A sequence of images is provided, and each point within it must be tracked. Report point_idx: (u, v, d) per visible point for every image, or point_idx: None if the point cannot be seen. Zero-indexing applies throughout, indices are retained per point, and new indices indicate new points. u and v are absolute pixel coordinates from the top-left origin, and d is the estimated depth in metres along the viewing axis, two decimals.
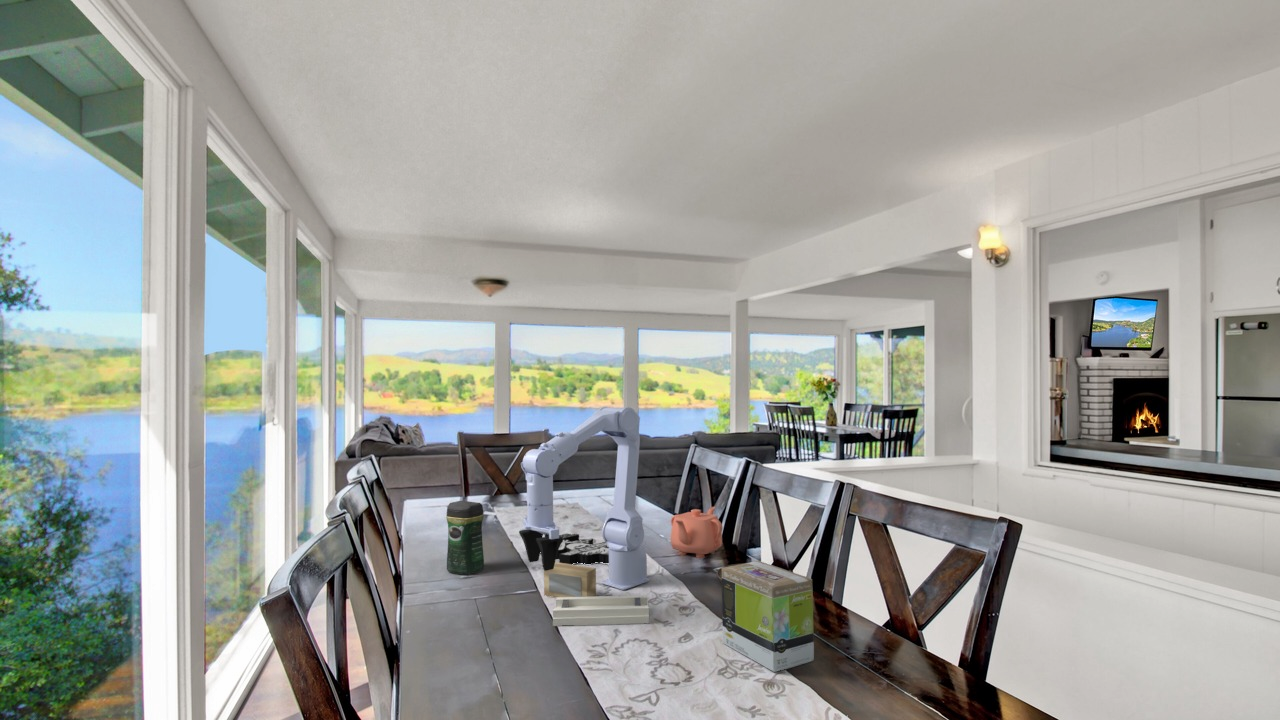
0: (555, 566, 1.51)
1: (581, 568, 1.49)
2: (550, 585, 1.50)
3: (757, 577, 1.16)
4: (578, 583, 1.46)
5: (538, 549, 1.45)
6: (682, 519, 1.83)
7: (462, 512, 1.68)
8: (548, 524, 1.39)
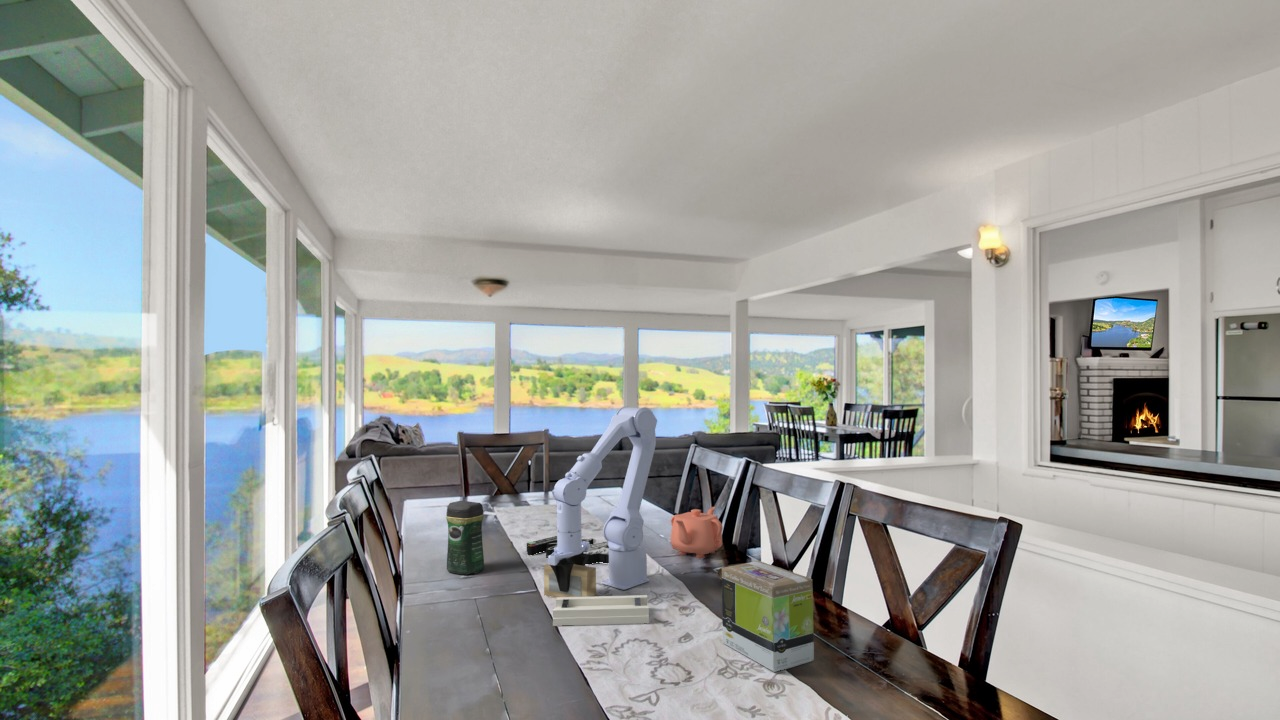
0: None
1: (581, 568, 1.49)
2: (550, 585, 1.50)
3: (757, 577, 1.16)
4: (578, 582, 1.46)
5: None
6: (682, 519, 1.83)
7: (462, 512, 1.68)
8: (564, 551, 1.48)
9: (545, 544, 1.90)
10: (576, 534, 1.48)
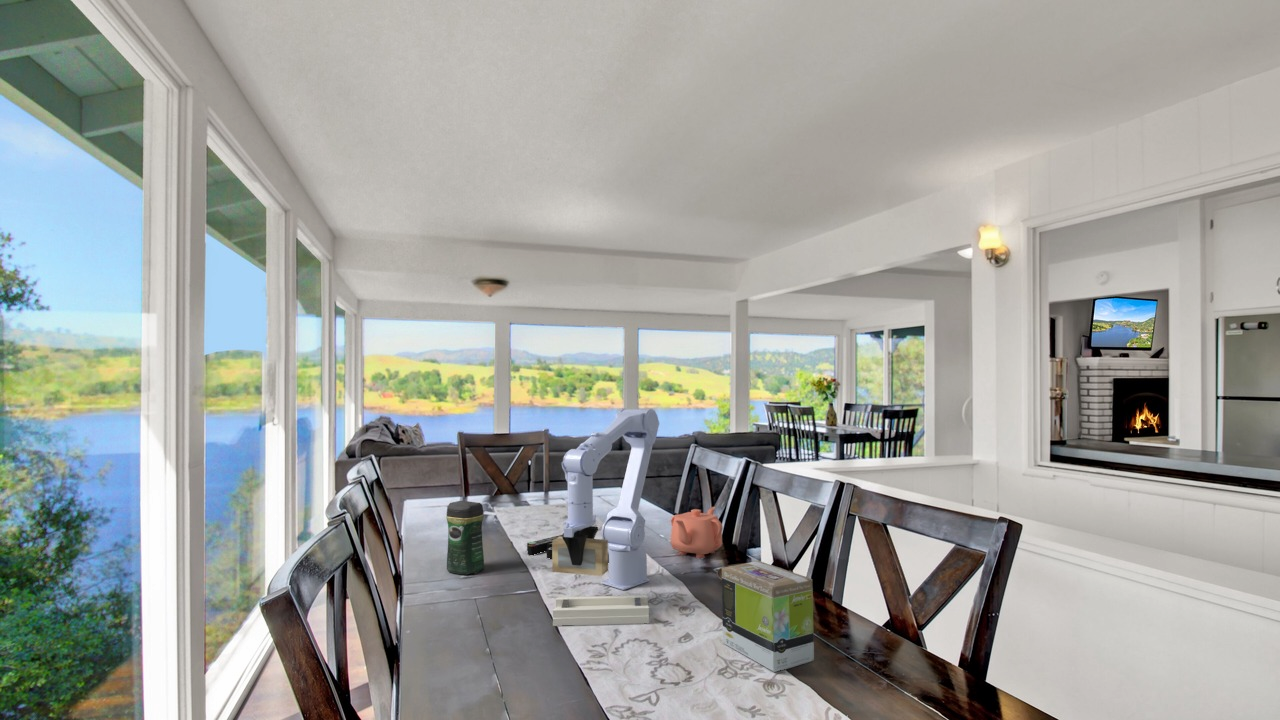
0: None
1: (593, 541, 1.45)
2: (559, 560, 1.44)
3: (757, 577, 1.16)
4: (592, 555, 1.42)
5: None
6: (682, 519, 1.83)
7: (462, 512, 1.68)
8: (578, 523, 1.43)
9: (545, 544, 1.89)
10: (589, 505, 1.44)
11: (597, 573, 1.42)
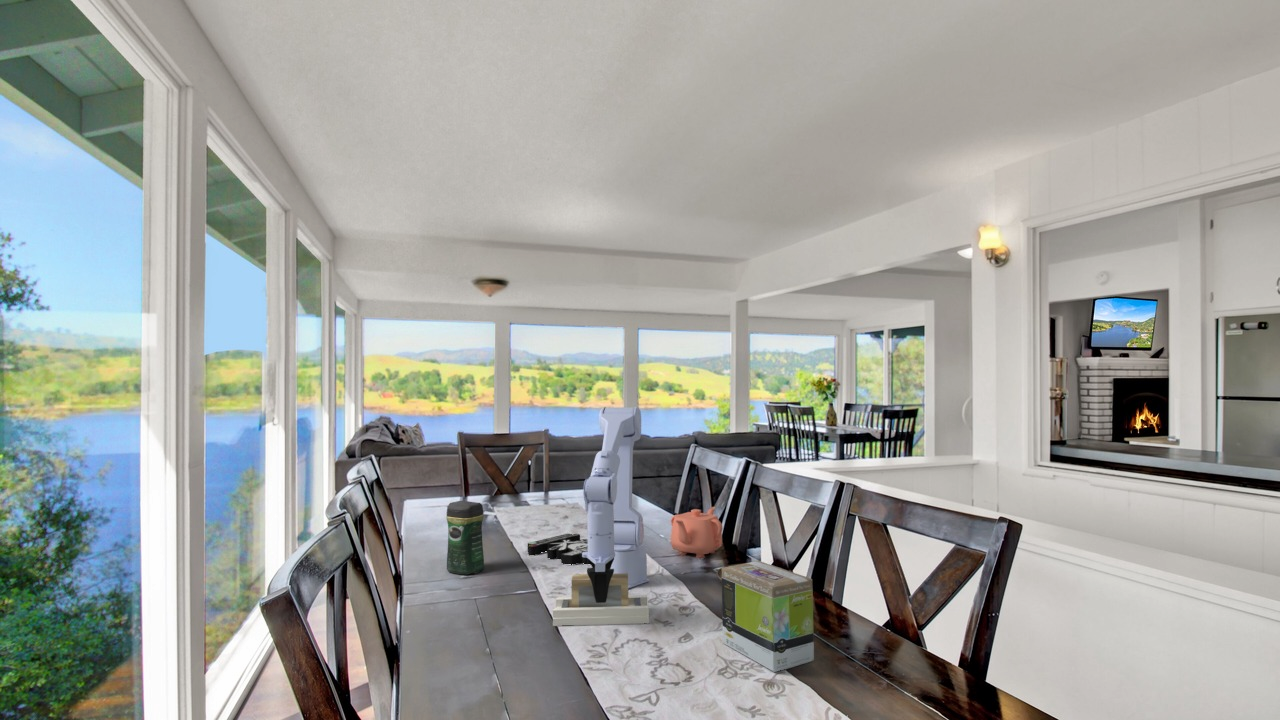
0: (584, 578, 1.36)
1: (615, 576, 1.37)
2: (580, 600, 1.35)
3: (757, 577, 1.16)
4: (618, 592, 1.35)
5: None
6: (682, 519, 1.83)
7: (462, 512, 1.68)
8: (603, 555, 1.35)
9: (546, 544, 1.89)
10: (613, 535, 1.37)
11: None
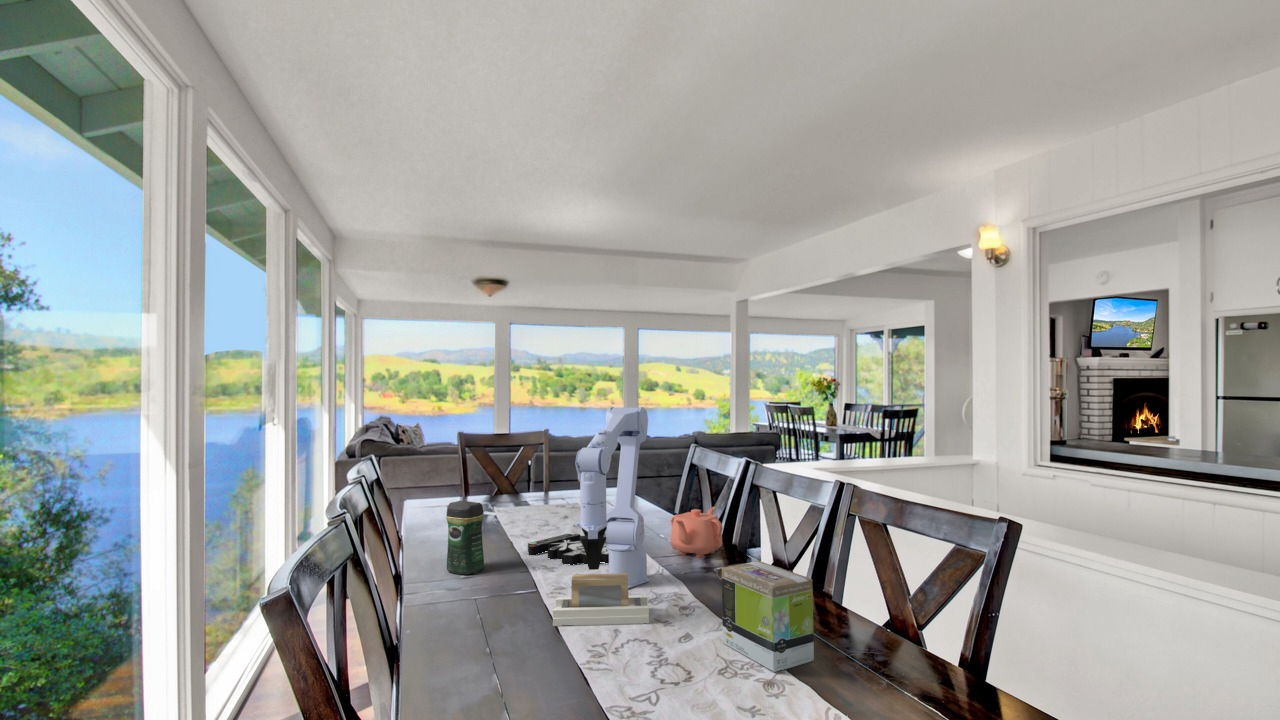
0: (584, 578, 1.36)
1: (615, 576, 1.37)
2: (580, 600, 1.35)
3: (757, 577, 1.16)
4: (618, 592, 1.35)
5: None
6: (682, 519, 1.83)
7: (462, 512, 1.68)
8: (596, 523, 1.38)
9: (546, 544, 1.89)
10: (605, 505, 1.40)
11: None
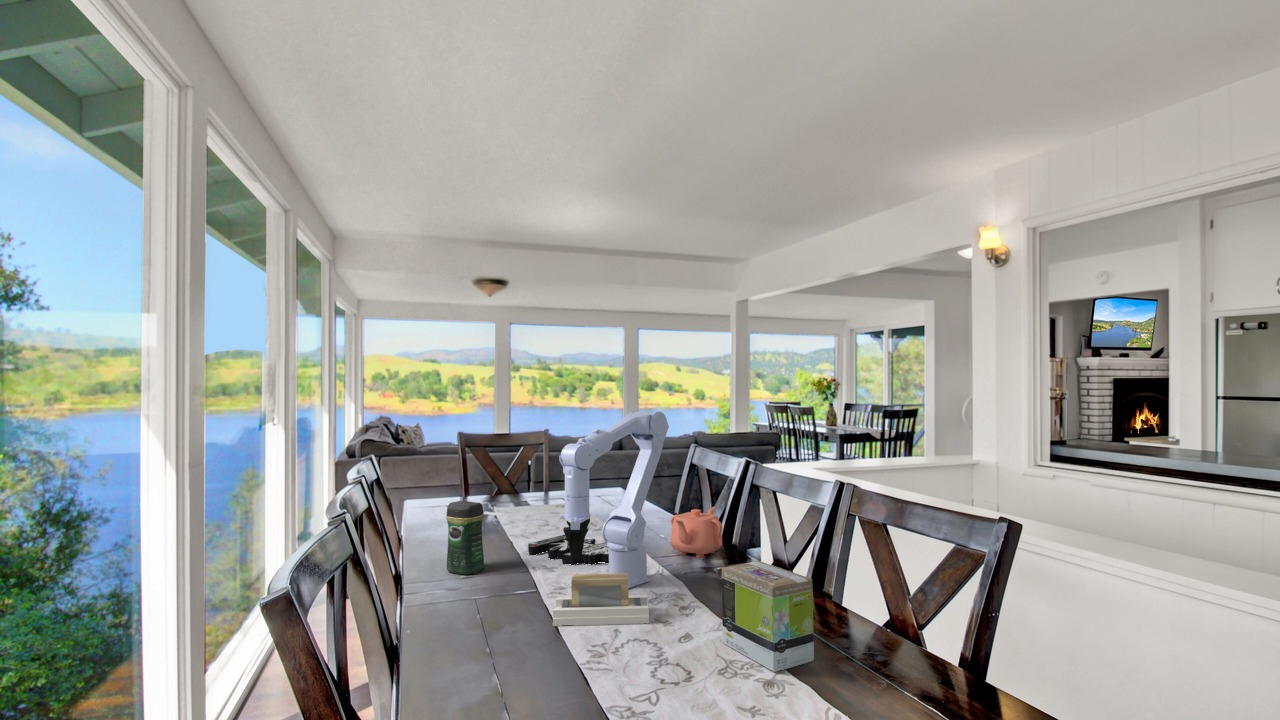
0: (584, 578, 1.36)
1: (615, 576, 1.37)
2: (580, 600, 1.35)
3: (757, 577, 1.16)
4: (618, 592, 1.35)
5: None
6: (682, 519, 1.83)
7: (462, 512, 1.68)
8: (579, 515, 1.46)
9: (547, 544, 1.89)
10: (588, 498, 1.48)
11: None
